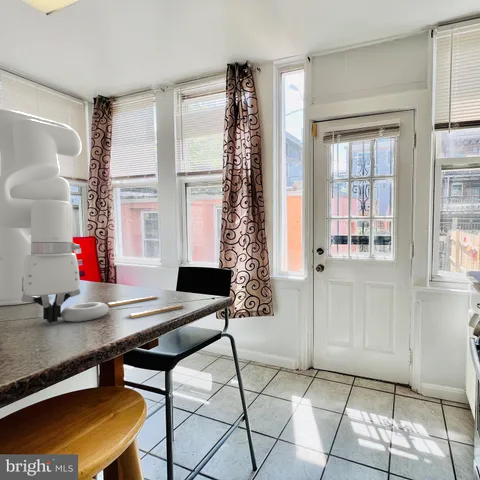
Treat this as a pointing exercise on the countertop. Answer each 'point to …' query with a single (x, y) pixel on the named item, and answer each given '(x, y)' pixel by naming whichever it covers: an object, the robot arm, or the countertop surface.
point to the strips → (145, 311)
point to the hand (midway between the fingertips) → (52, 321)
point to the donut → (84, 311)
